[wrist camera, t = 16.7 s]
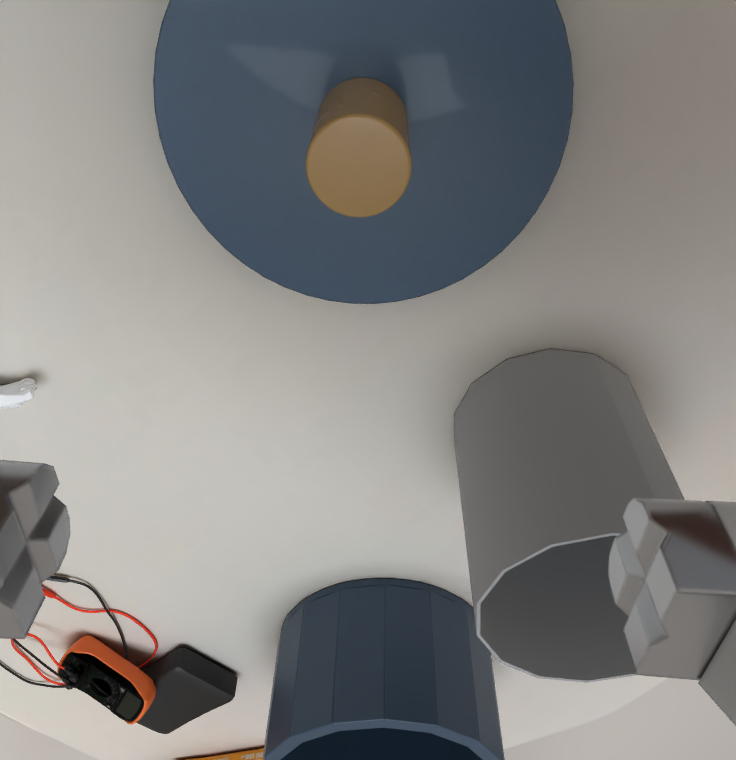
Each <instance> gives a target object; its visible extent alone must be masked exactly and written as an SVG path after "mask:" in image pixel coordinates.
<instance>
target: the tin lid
mask: <svg viewBox="0 0 736 760" xmlns="http://www.w3.org/2000/svg"><path fill="white" fill-rule="evenodd" d="M153 84H154V104H155V113H156V119H157V125H158V130H159V136H160V140H161V143H162V146H163V149H164V153H165V156H166V159H167V162H168V165H169V167H170V169H171V172H172V174H173V176H174V178H175V181H176V183H177V185H178V187H179V189H180V191H181V192H182V194H183V196H184V197H185V199H186V201H187V203H188V204H189V206H190V208H191V209H192V211H193V212H194V213H195V215H196V216H197V217H198V219H199V220H200V221H201V223H202V224H203V225H204V226H205V228H206V229H207V230H208V231H209V232H210V233H211V234H212V236H213V237H214V238H215V239H216V240H217V241H218V242H219V243H220V244H221V245H222V246H223V247H224V248H225V249H226V250H228V251H229V252H230V253H231V254H232V255H234V256H235V257H236V258H237V259H238V260H240V261H241V262H242V263H243V264H245V265H246V266H248V267H249V268H251V269H253V270H254V271H256V272H257V273H259V274H260V275H262V276H263V277H265V278H267V279H269V280H271V281H273V282H275V283H277V284H279V285H281V286H283V287H286V288H288V289H291V290H294V291H296V292H299V293H302V294H305V295H308V296H312V297H316V298H320V299H324V300H329V301H336V302H344V303H356V304H377V303H387V302H396V301H402V300H406V299H411V298H415V297H420V296H423V295H426V294H429V293H432V292H434V291H437V290H440V289H443V288H445V287H447V286H449V285H451V284H453V283H455V282H458V281H460V280H462V279H464V278H465V277H467V276H468V275H470V274H472V273H473V272H475V271H476V270H478V269H480V268H481V267H483V266H484V265H485V264H487V263H488V262H489V261H490V260H492V259H493V258H494V257H495V256H497V255H498V254H499V253H500V252H502V251H503V250H504V249H505V248H506V247H507V246H508V245H509V244H510V243H511V242H512V241H513V240H514V238H515V237H516V236H517V235H518V234H519V233H520V232H521V231H522V230H523V228H524V227H525V226H526V224H527V223H528V222H529V221H530V219H531V218H532V217H533V215H534V214H535V213H536V211H537V209H538V208H539V206H540V204H541V203H542V201H543V199H544V198H545V196H546V194H547V193H548V191H549V189H550V187H551V184H552V182H553V180H554V177H555V175H556V173H557V171H558V168H559V166H560V163H561V160H562V156H563V153H564V150H565V146H566V143H567V140H568V134H569V128H570V122H571V116H572V106H573V72H572V61H571V52H570V48H569V43H568V39H567V34H566V30H565V25H564V22H563V19H562V17H561V14H560V11H559V9H558V6H557V3H556V1H555V0H170V1H169V4H168V7H167V10H166V12H165V15H164V18H163V21H162V24H161V29H160V33H159V38H158V43H157V48H156V53H155V66H154V79H153Z"/></svg>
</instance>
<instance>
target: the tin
mask: <svg viewBox="0 0 736 760" xmlns="http://www.w3.org/2000/svg"><path fill="white" fill-rule="evenodd" d="M263 760H505V759H504V752H503V744H502V736H501V729H500V721H499V713H498V706H497V698H496V690H495V683H494V675H493V667H492V660H491V652H490V651H489V649H488V648H487V647H486V646H485V645H484V644H483V642H482V641H481V640H480V639H479V638H478V637H477V634H476V625H475V617H474V609H473V608H472V607H471V606H470V605H468V604H467V603H466V602H464V601H463V600H462V599H460V598H459V597H457V596H455V595H453V594H451V593H449V592H447V591H445V590H442V589H440V588H437V587H434V586H431V585H427V584H424V583H420V582H414V581H409V580H400V579H363V580H356V581H350V582H345V583H341V584H337V585H334V586H331V587H328V588H325V589H323V590H321V591H318V592H316V593H314V594H312V595H311V596H309V597H307V598H306V599H304V600H303V601H301V602H300V603H299V604H298V605H297V606H295V607H294V609H293V610H292V611H291V612H290V613H289V614H288V616H287V618H286V619H285V621H284V623H283V626H282V629H281V635H280V641H279V645H278V651H277V658H276V665H275V673H274V680H273V687H272V694H271V702H270V709H269V716H268V723H267V731H266V738H265V745H264V752H263Z"/></svg>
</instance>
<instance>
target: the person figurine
mask: <svg viewBox="0 0 736 760" xmlns="http://www.w3.org/2000/svg"><path fill="white" fill-rule="evenodd" d="M36 384H37V382H35V380H34V379H30V378H25V379H23V380H21V381H18V382H14V383H11V384H7V385H4V386H2V385H0V409H3V408H18V407H19V406H21V405H22V404H23V403H24V402H26V401H28V400H30V399H31V398H33V396H34V390H36V389H37V388H36Z"/></svg>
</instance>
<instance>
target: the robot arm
mask: <svg viewBox="0 0 736 760" xmlns="http://www.w3.org/2000/svg"><path fill="white" fill-rule="evenodd" d="M58 485H59V481H58V478H57V475H56V472H55V470H54V467H53V466H51V465H48V464H44V463H32V462H20V461H7V460H0V638H9V639H25V637H26V635H27V633H28V631H29V629H30V627H31V625H32V623H33V621H34V619H35V617H36V615H37V613H38V611H39V609H40V607H41V605H42V603H43V601H44V599H45V595H44V592H43V589H42V586H41V583H42V582H43V581H45V580H46V579H48V578H49V577H50V576H52V575H53V574H55V573H56V572H57V571H58V570H59V568H60V566H61V564H62V561H63V559H64V557H65V555H66V552H67V547H68V542H69V537H70V518H69V515H68V511H67V507H66V506H65V505H64V504H63V503H62V502H61V501H60V500H58V499H57V498H56V497H55V496H54V493H55V491H56V489H57V487H58ZM623 519H624V522H625V525H626V527H627V530H626V531H624V532H623V533H621V534H620V535H618V536H617V537H616V538H615V539H614V542H613V545H612V548H611V551H610V554H609V567H608V575H609V583H610V589H611V593H612V596H613V600H614V603H615V604H616V605H617V606H618V607H619V608H620V609H621V610H622V611H623V612H624V613H625V614H626V615H627V616H628V617H629V618H628V620H627V622H626V625H625V627H624V630H623V634H624V637H625V640H626V644H627V647H628V650H629V653H630V657H631V660H632V663H633V666H634V670H635V673H636V675H644V676H656V677H667V678H680V679H691V680H700V681H699V683H698V684H699V685H700V686H701V687H702V688H703V689H704V690H705V692H706V693H707V694H708V695H709V696H710V697H711V698H712V700H713V701H714V702H715V703H716V704H717V705H718V706H719V707H720V709H721V710H722V711H723V712H724V713H725V714H726V715H727V716H728V717H729V719H730V720H731V721H732V722H733V723H734V724H735V726H736V502H719V501H705V502H703V501H695V500H675V499H654V498H633V499H632V500H631V501H630V502H629V503H628V505H627V507H626V510H625V512H624V515H623Z"/></svg>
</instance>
